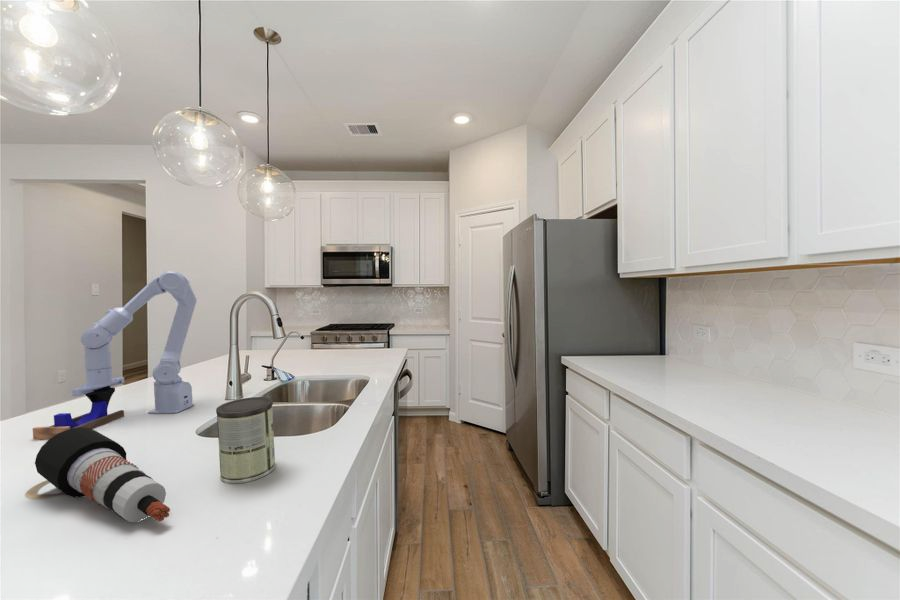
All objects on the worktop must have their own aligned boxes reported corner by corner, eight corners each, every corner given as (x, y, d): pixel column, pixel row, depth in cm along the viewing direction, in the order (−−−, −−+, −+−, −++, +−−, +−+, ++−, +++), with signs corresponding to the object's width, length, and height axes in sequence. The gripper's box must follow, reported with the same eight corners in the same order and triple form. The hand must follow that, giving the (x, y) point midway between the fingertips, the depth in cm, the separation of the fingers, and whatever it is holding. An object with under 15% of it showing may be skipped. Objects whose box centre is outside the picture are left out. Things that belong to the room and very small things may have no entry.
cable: (146, 563, 60) (108, 525, 55) (56, 491, 76) (20, 456, 71) (206, 504, 67) (178, 467, 62) (113, 450, 83) (84, 416, 78)
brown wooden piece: (124, 416, 117) (123, 406, 117) (66, 439, 100) (66, 427, 100) (95, 417, 118) (94, 407, 117) (33, 439, 100) (32, 428, 100)
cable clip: (93, 421, 113) (91, 401, 113) (107, 421, 113) (106, 401, 113) (49, 437, 101) (48, 415, 101) (66, 437, 101) (64, 415, 101)
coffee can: (213, 472, 80) (210, 404, 79) (265, 455, 87) (262, 394, 86) (227, 490, 72) (224, 416, 72) (283, 470, 80) (280, 403, 79)
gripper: (107, 363, 122) (110, 406, 122) (60, 374, 107) (63, 422, 108) (129, 363, 121) (132, 405, 122) (84, 373, 107) (88, 421, 107)
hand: (101, 413), depth 115 cm, fingers closed
